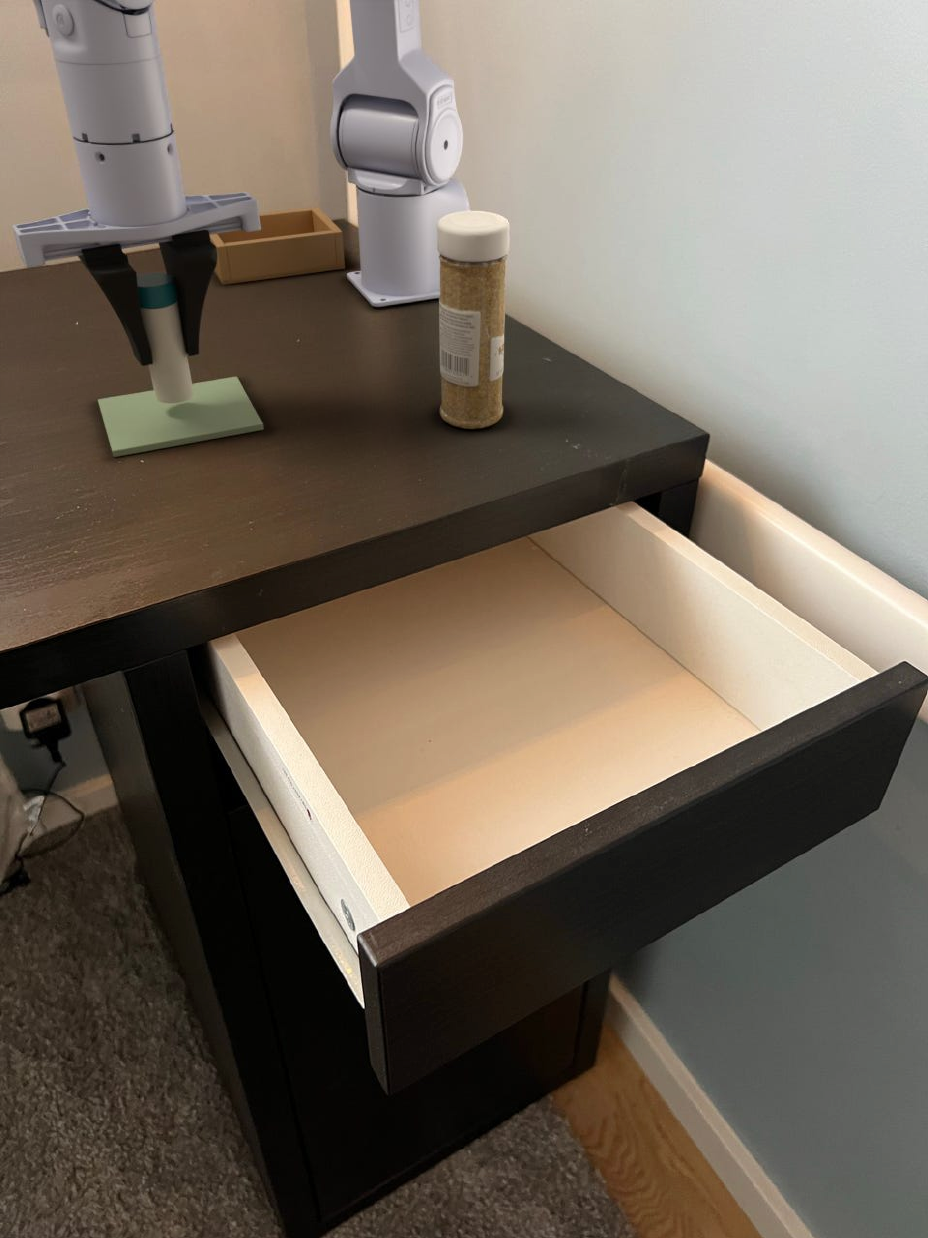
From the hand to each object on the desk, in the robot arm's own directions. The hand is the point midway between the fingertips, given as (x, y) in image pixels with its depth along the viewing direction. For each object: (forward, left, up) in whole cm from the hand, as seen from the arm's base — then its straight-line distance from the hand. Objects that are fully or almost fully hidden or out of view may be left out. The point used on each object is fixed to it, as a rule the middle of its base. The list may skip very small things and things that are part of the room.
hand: (167, 354), depth 64 cm
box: (-14, -28, -5) cm, 32 cm away
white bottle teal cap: (0, 0, -3) cm, 3 cm away
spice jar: (-19, +7, -5) cm, 21 cm away
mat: (0, 0, -5) cm, 5 cm away
